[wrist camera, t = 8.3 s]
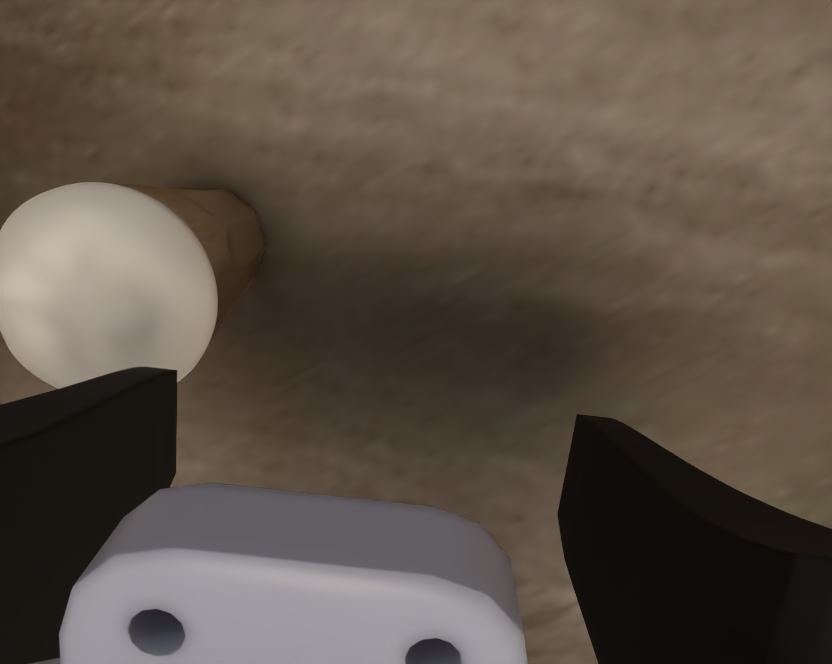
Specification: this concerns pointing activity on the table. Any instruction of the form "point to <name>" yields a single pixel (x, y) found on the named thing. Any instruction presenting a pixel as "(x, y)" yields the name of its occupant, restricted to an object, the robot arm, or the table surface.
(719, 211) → the table surface
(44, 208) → the milkshake
